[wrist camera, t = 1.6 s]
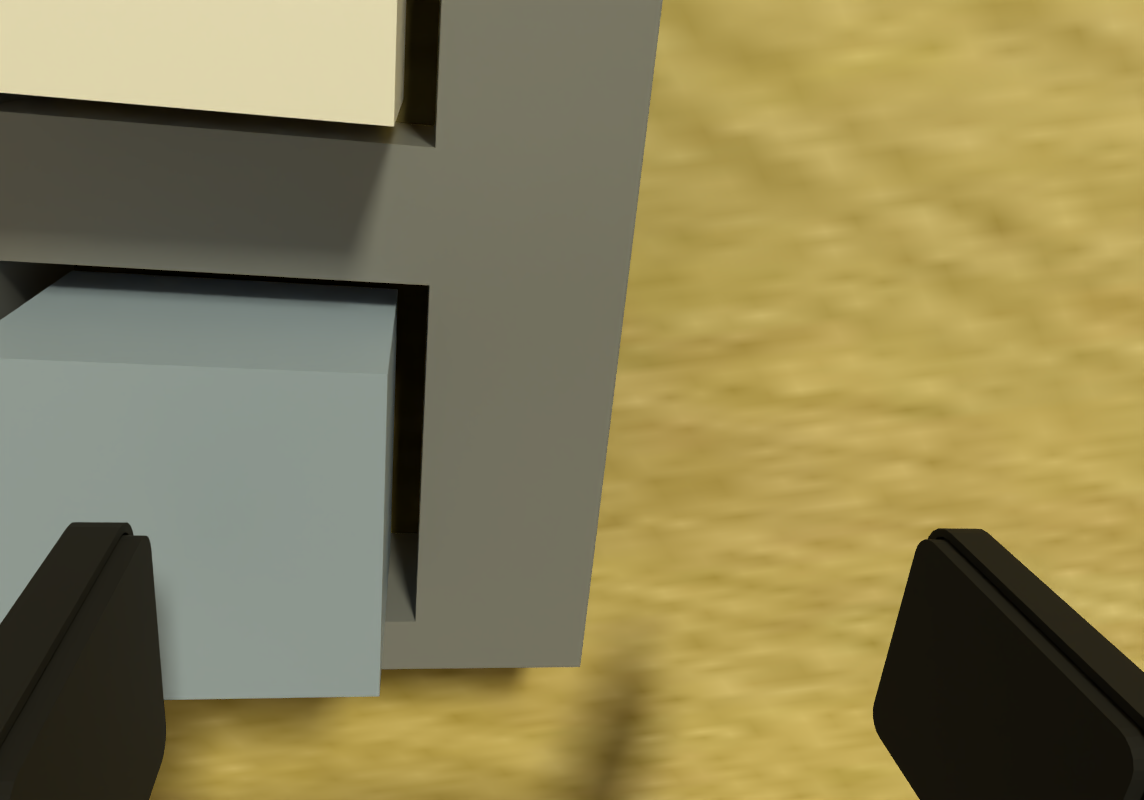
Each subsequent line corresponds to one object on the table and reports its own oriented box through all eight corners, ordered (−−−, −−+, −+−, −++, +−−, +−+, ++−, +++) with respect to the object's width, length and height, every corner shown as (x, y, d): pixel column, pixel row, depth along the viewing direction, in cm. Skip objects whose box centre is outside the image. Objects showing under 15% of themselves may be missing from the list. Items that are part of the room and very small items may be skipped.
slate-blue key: (398, 289, 15) (387, 374, 11) (390, 550, 17) (379, 696, 13) (72, 270, 14) (-52, 356, 11) (101, 547, 16) (3, 702, 12)
